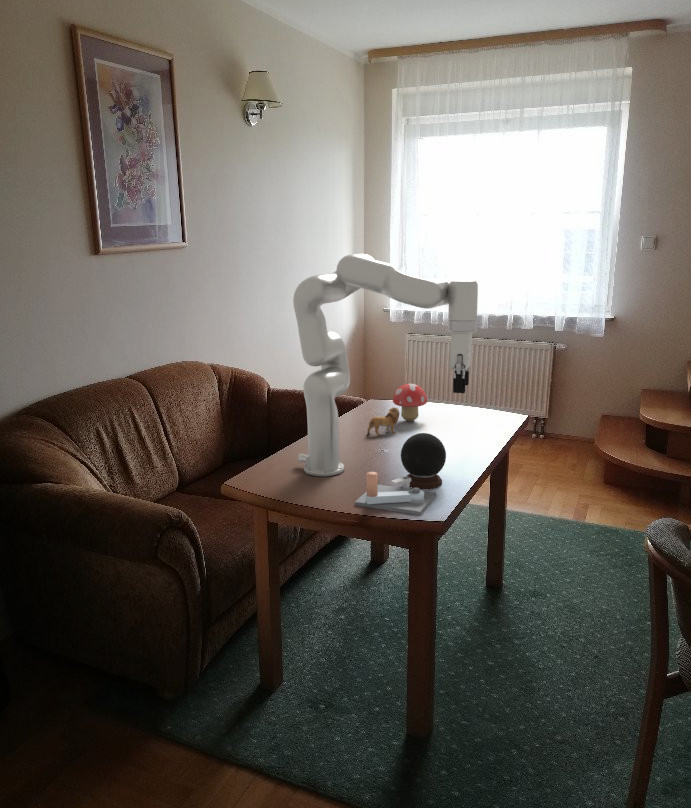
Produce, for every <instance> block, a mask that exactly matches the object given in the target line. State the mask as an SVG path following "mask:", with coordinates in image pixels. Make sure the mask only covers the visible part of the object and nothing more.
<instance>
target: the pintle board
mask: <svg viewBox="0 0 691 808" xmlns="http://www.w3.org/2000/svg"><path fill="white" fill-rule="evenodd" d="M390 481H391V482H390V483H391V485H387V484H386V485H385V484H378V492H394V491H409V490H412V488H410V482H411V478H410V477H407V475H406V476H403V477H399V478H395V479H392V480H390ZM392 485H393V486H392ZM401 485H402V487H398V486H401ZM423 491H424V501H422V502H397V503H380V504H367V502H366V491H365V492H364V493H363V494H361V496H360V497H359V498H357V499H356V500H355V501H354V505H355V506H358V507H365V508H372V509H377V510H385V511H390V512H396V513H397V512H398V513H403V514H410V515H416V516H421V515H422V514H423V513H424V511H426V509H427V508H428V506H429V505H430V504H431V503H432V501H434V499H435V498H436V496H437V492H436V491H430V490H428V491H427V490H423Z"/></svg>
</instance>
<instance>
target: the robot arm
mask: <svg viewBox="0 0 691 808" xmlns="http://www.w3.org/2000/svg"><path fill="white" fill-rule="evenodd" d="M361 289H363V290H366V291H369V292H373V293H377V294H380V295H384V296H386V297H388V298H390V299H392V300H394V301H397V302H399V303H403V304H405V305H409V306H413V307H416V308H421V309H433V308H437V307H441V306H445V305H448V319H447V320H448V321H447V323H448V326H447V332H448V333H450V334H451V335H450V336H451V338H450V350H449V351H450V352H449V369H450V370H453V369H454V370H453V380H452V393H454V394H465V393H466V386H468V385H469V380H470V379H469V378H470V371H469V367H470V366H471V359H472V349H473V348H472V346H473V345H472V344H473V334H474V333H477V331H478V330H477V328H478V322H477V321H478V320H477V319H478V296H479V294H478V293H479V290H478V289H479V286H478V282H477V281H476V280H475V279H471V278H470V279H469V278H457V279H450V278H445V277H435V278H428V279H425V278H421V277H417V276H412V275H409V274H407V273H403V272H401V271H399V270H398V268H397V266H395V265H394V264H392V263H388V262H385V261H380V260H377V259H376V260H375V258H374V257H372V256H371V255H369V254H365V253H355V254H353V253H352V254H348V255H345V256H343V257H342V258H341V259H340V260H339V261H338V262H337V265H336V270H335V271H333V272H332V273H324V274H316V275H313V276H312V275H311V276H309V277H307V278H304V280H302V281H301V282H300V283H299V284H298V285H297V287H296V288H295V291H294V294H293V296H292V298H293V299H292V301H293V303H292V304H293V310H294V313H295V317H296V323H297V329H298V330H297V331H298V336H299V342H300V349H301V355H302V358H303V361H304V362H305V363H306V365H308V366H310V367H320V368H321V369H319V370H316V371H313V372H311V374H309V375H308V376H307V377H306V379H305V380H304V382H303V387H302V388H303V389H302V390H303V396H304V399H305V405H306V418H307V419H306V420H307V446H308V448H307V449H308V450H307V452H308V453H307V454H305V453H299V454H298V455H297V457H298V460H297V461H298V463H304V464H305V465H304V466H303V471H304V472H305V474H307V475H309V476H314V477H331V476H332V477H333V476H336V475H338V474H341V473H343V472H344V470H345V465H344V464H343V463H342V462H340V437H339V436H340V429H339V423H340V422H339V411H338V407H337V403H336V401H335V398H337V397H339V396H341V395H343V394H344V393H346V392H347V391H348V389H349V387H350V386H351V385H350V384H351V374H350V366H349V359H348V353H347V348H346V344H345V342H344V340H343V338H342V337H341V336H340V335H339V334H338V333H336V332H335V331H330V330H328V328H327V321H326V317H325V315H324V312H323V310H322V309H321V307H322V305H324V304H331V303H335V302H336V303H337V302H339V301H342V300H344V299H345V298H347V297H349V296H350V295H352V294H354V293H355V292H356V291H359V290H361Z"/></svg>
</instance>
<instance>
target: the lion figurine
mask: <svg viewBox="0 0 691 808" xmlns="http://www.w3.org/2000/svg"><path fill="white" fill-rule="evenodd" d="M400 413H401V412H400V410H399V408H397V407H391V408H390V409H389V410H388V412H387V414H386V415H385V416H374V417H371V419H370V421H369V424H368V427H367V432H366V433H367V434H366V436H370V435H371V434H372V432H371V430H372V429H373V428H374V432H375V434H376V435H377V436H379V437H380V436H382V435H381V433H380V432H379V428H380V427H385V429H386V432H387V433H388V432H391V434H395V433H396V432H395V431H394V428H395V425H396V424H397V423H398V422H399V418H400V415H401V414H400Z"/></svg>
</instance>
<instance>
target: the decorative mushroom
mask: <svg viewBox="0 0 691 808" xmlns="http://www.w3.org/2000/svg"><path fill="white" fill-rule="evenodd" d="M392 403H393V404H394V405H396V406H398V407H401V410H400V411H401V412H400V413H401V414H400V415H401V418H402V419H403V420H405V421H406V422H413V421H415V420H416V419H418V418H419V407H422V406H424V405H426V404H427V403H428V396H427V393H426V392H425V390H424V388H422V387H421V386H420V385H418V384H415V383H405V384H403V385H401V386H399V387H398V388H397V389H396V390H395V392H394V394H393V396H392Z"/></svg>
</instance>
